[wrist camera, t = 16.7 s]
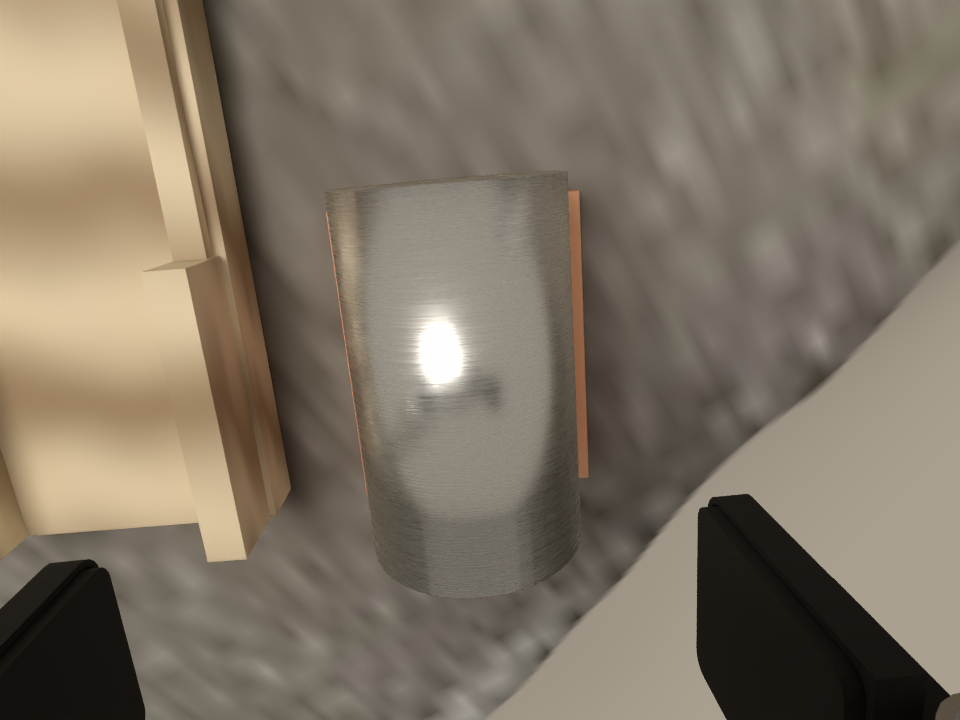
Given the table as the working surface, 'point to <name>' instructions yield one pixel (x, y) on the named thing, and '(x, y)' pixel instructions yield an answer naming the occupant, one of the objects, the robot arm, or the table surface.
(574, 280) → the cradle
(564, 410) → the grey metal cylinder
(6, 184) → the beige elongated piece
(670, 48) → the table surface
